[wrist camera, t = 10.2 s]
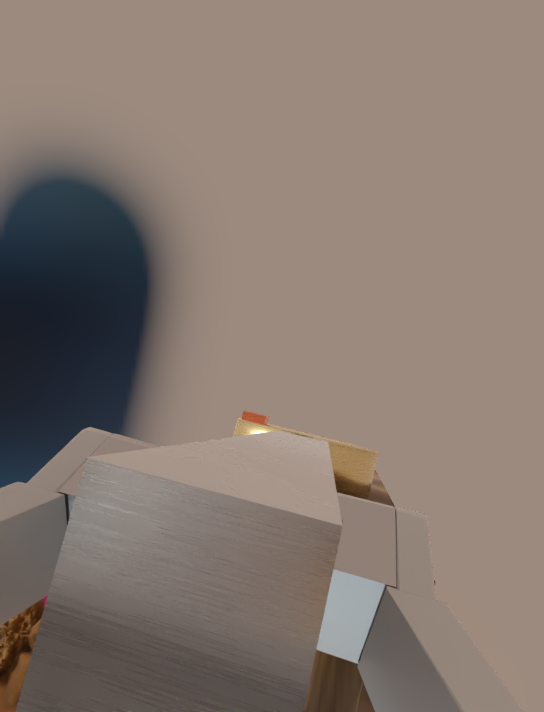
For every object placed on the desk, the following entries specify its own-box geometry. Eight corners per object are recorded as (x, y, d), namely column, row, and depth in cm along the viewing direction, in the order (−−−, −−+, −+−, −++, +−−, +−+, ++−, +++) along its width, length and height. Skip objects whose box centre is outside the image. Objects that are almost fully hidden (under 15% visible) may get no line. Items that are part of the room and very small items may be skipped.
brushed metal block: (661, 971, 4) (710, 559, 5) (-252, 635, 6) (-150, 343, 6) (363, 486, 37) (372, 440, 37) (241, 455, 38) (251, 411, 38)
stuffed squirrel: (71, 806, 33) (115, 621, 34) (-109, 748, 34) (-64, 570, 35) (125, 708, 43) (158, 566, 44) (-16, 666, 44) (18, 528, 45)
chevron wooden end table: (296, 1236, 18) (435, 582, 19) (-16, 1081, 20) (126, 495, 21) (317, 734, 45) (375, 470, 46) (181, 688, 47) (240, 436, 48)
